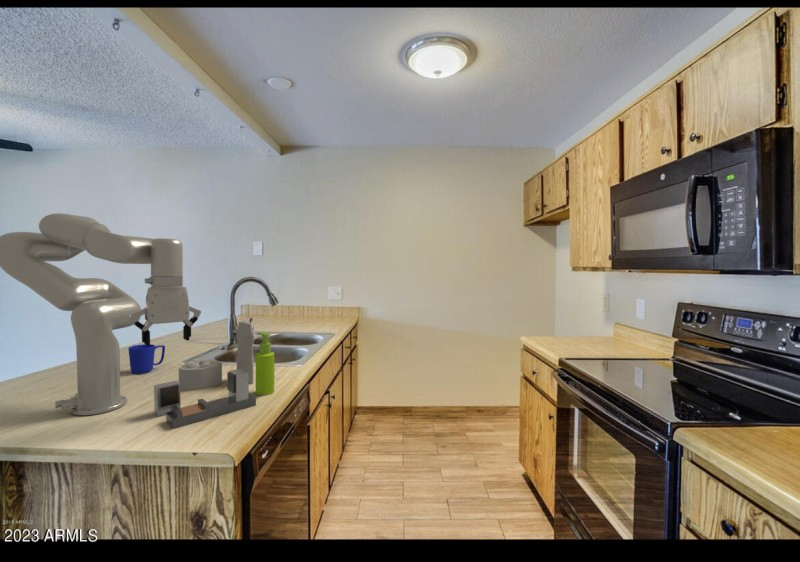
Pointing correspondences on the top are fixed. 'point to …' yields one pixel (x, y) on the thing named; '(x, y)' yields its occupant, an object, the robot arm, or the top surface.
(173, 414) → the rail
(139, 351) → the mug
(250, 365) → the grey tall slab
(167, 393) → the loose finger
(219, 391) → the top surface
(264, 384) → the soap dispenser
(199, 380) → the lumpy-topped squat cylinder
